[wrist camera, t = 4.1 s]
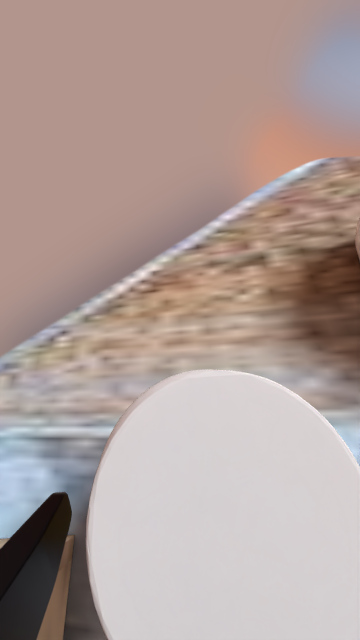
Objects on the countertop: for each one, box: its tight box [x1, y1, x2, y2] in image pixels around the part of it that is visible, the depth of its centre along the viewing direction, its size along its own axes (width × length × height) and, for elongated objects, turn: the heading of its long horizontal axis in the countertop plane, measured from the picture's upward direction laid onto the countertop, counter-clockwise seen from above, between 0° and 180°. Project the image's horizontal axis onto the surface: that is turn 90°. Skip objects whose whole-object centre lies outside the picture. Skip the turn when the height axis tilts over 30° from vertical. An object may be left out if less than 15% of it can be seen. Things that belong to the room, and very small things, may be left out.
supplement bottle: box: [86, 369, 360, 640], centre depth 10 cm, size 7×7×13 cm
